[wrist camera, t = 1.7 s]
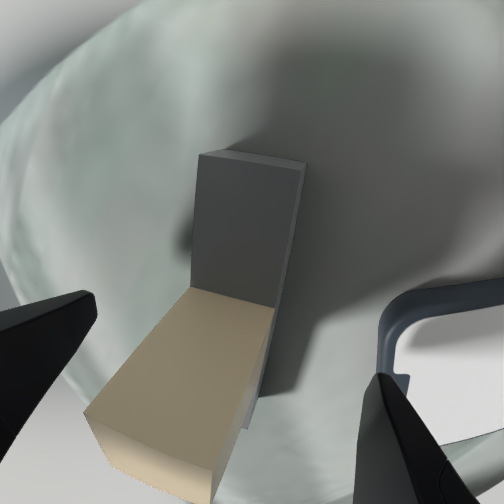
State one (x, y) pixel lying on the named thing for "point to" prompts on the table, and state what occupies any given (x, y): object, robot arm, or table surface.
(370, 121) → the table surface
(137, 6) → the table surface
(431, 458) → the robot arm
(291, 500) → the table surface
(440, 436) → the smartphone
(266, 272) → the scraper
